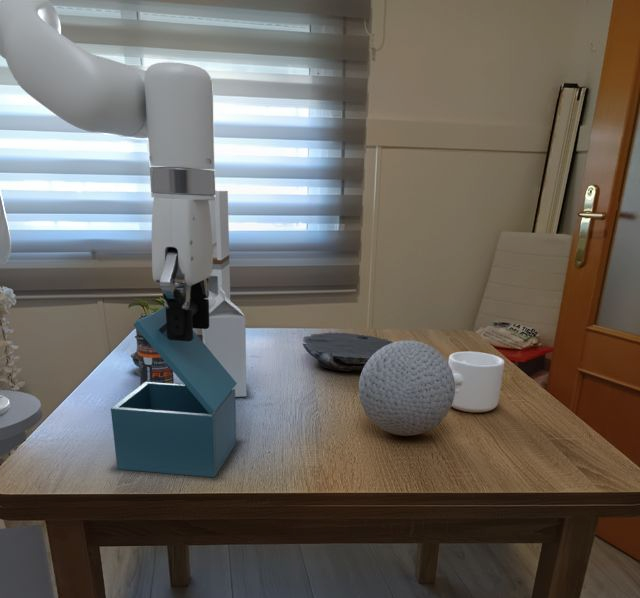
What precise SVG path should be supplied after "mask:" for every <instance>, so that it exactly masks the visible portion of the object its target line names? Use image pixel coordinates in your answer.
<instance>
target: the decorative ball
mask: <svg viewBox="0 0 640 598" xmlns="http://www.w3.org/2000/svg"><path fill="white" fill-rule="evenodd" d="M448 362H449V361H447V359H446V358H445V357H444V355H442V354H441V352H439V351H438V350H436V349H435V348H434V347H432V346H431V345H428V344H426V343H424V342H421V341H417V340H408V339H407V340H405V339H404V340H398V341H394V343H391V344H388V345H386V346H384V347H382V348H381V349H379V350H378V351H377V352H375V353H374V354H373V355H372V356H371V357H370V359H369V360H368V361H367V363H366V364H365V366H364V368H363V370H361V373H360V375H359V381H358V397H359V401H360V404H361V407H362V409H363V411H364V413H365V415H366V416H367V418H368V419H369V420H370V421H371V422H372V423H373V424H374V425H375V426H376V427H378V428H379V429H381V430H383V431H384V432H387V433H389V434H392V435H395V436H403V437H409V436H410V437H411V436H417V435H421V434H424V433H426V432H428V431H430V430H432V429H435V427H436V426H438V425H439V424H440V423H441V422H442V421H443V420H444V419H445V417H446V416H447V415H448V414H449V411H450V410H451V408H452V407H451V406H452V403H453V400H454V395H455V381H454V376H453V373H452V370H451V368H450V366H449V364H448Z"/></svg>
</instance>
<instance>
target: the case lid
mask: <svg viewBox="0 0 640 598" xmlns="http://www.w3.org/2000/svg"><path fill="white" fill-rule="evenodd" d="M189 309H192V317H193V316H194V315H196V314H197V313H198V311H199V308H198V305H197V304H196V303H194V302H189ZM139 319H140V318H139ZM137 320H138V319H137ZM137 320H136V321H137ZM136 321H135V322H134V323H133V324H132V325H133V327H135V330H136V329H137V330H138V331H139V332H140V333H141V334H142V336H143V337H144V338H145V339H146V340H147V341H148V343H149V344H150V345H151V346H152V347H153V348H154V350H155V351H156V352H157V353H158V354H159V355H160V357H161V358H162V359H163V360H164V361H165V362H166V364H167V365H168V366H169V367H170V368H171V369H172V371H173V374H174V375H175V376H177V378H178V379H179V380H180V381H181V383H182V384H184V385H185V386H186V387H187V388H188V389H189V391H190V392H191V393H192V394H193V395H194V396H195V398H196V399H197V400H198V401H199V402H200V403H201V405H202V406H203V407H204V408H205V409H206V410H207V412H208V413H209V414H212V413H213V412H214V411H215V410H216V409H217V408H218V406H219V405H220V404H221V403H222V401H223V400H224V399H225V398H226V396H227V395H228V394H229V393H230V392H231V390H232V389H233V388H234V387H235V385H236V384H237V383H236V382H235V381H234V379H233V378H232V377H231V376H230V374H229V373H228V372H227V371H226V370H225V368H224V367H223V366H222V365H221V364H220V362H219V361H218V360H217V359H216V358H215V356H214V355H213V354H212V353H211V351H210V350H209V349H208V348H207V347H206V345H205V344H204V343H203V342H202V341H201V339H200V338H199V337H198V336H197V335H196V333H195V332H194V331H193V340H191V341H177V340H169V339H168V338H167V323H166V308H165V306H163V307H162V308H160V309H157V310H156V311H154V312H152V313H150V314H148V315H146V316H144V318H142V319H140V320H138V321H137V322H136Z"/></svg>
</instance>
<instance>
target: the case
mask: <svg viewBox="0 0 640 598" xmlns="http://www.w3.org/2000/svg"><path fill="white" fill-rule="evenodd" d="M236 407H237V406H236V397H235V388H233V389H232V390H231V392H230V393H229V394H228V395H227V396H226V398H225V399H224V400H223V401H222V403H221V404H220V405H219V406H218V408H217V409H216V410H215V411H214V412H213V413H212V414H209V413H208V412H207V410H206V409H205V408H204V407H203V406H202V405H201V403H200V402H199V401H198V400H197V399H196V398H195V396H194V395H193V394H192V393H191V392H190V391H189V389H188V388H187V387H186V386H185V385H184V383H174V384H171V383H157V382H145V383H143V384H142V385H141V384H140V385H139V386H138V387H137V388H136V389H134V390H133V391H132V392H130V393H129V394H128V395H127V396H125V397H124V398H123V399H121V400H120V401H118V402H117V403H115V405H114V406H112V407H111V408H110V416H111V424H112V434H113V441H114V450H115V452H114V453H115V460H116V469H117V470H122V471H123V470H125V471H134V472H148V473H159V474H160V473H161V474H172V475H180V476H181V475H182V476H194V477H205V478H216V476H217V475H218V473H219V472H220V470H221V468H222V467H223V465H224V464H225V462H226V461H227V459H228V457H229V455H230V454H231V452H232V451H233V449H234V447H235V446H236V444H237V415H236V414H237V410H236Z"/></svg>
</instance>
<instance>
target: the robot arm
mask: <svg viewBox="0 0 640 598" xmlns="http://www.w3.org/2000/svg"><path fill="white" fill-rule="evenodd" d="M0 57H2V58H3V59H4V60H5V62H6V64H7V66H8V69H9V72H10V73H11V75H12V76H13V78H14V81H16V83H17V85H18V86H19V87H20V88H21V89H22V90H23V91H24V92H25V93H26V94H27V95H29V96H30V97H31V98H32V99H34V100H35V101H37V102H38V103H39V104H41V105H42V106H43V107H45V108H46V109H47V110H49V112H52V113H53V114H54V115H56V116H57V117H58V118H60V119H61V120H62V121H65V122H66V123H67V124H69V125H71V126H73V127H75V128H77V129H79V130H82V131H86V132H90V133H95V134H102V135H110V136H117V137H122V138H129V139H133V140H134V139H135V140H147V144H148V145H147V147H148V163H149V178H150V179H149V181H150V195H151V198H153V202H152V212H151V271H152V281H154V282H155V284H157V285H159V288H160V290H161V291H162V297H163V298H164V300H163V301H164V303H163V307H165V308H166V323H167V338H168V339H169V340H177V341H191V340H193V328H197V329H208V328H209V299H208V297H209V290H208V283H209V282H208V281H209V279H208V277H209V276H210V275H211V274H212V269H213V245H212V228H211V215H210V205H209V200H215V190H216V172H215V169H216V168H215V118H214V117H215V116H214V115H215V113H214V86H213V80H212V77H211V75H210V74H209V72H208V71H207V70H206V69H204V68H202V67H200V66H197V65H194V64H188V63H183V62H171V61H170V62H169V61H168V62H166V61H165V62H157V63H153V64H151V65H150V66H148V67H147V69H146V70H144V69H140V68H137V67H135V66H131V65H128V64H125V63H123V62H119V61H117V60H113V59H111V58H108V57H107V58H106V57H103V56H100V55H96V54H93V53H91V52H89V51H87V50H85V49H83V48H82V47H80V46H79V45H77V44H76V43H75V42H73V41H72V40H70V39H69V38H68V37H67V36H65V35H63V34H62V27H61V21H60V16H59V14H58V12H57V10H56V8H55V6H54V5H53V4H52V2H51V1H50V0H0ZM4 204H5V203H4V200H3V195H2V192H1V190H0V268H1V267H3V266H5V264H7V262H8V261H9V259H10V257H11V254H12V253H11V252H12V238H11V232H10V228H9V222H8V219H7V218H8V217H7V213H6V209H5V205H4ZM176 280H179V282H178V281H176ZM180 280H181V281H184V282H185V283H183V282H180ZM181 290H182V292H181ZM181 293H182V294H181ZM189 302H194V303H196V304H197V305H198V308H199V311H198V313H197V314H196V315H194V316H193V317H192V309H189ZM9 408H10V402H9V399H8V398H6V397H4V396H2V395H0V415H2V414H4V413H5V412H6V411H8V409H9Z"/></svg>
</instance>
